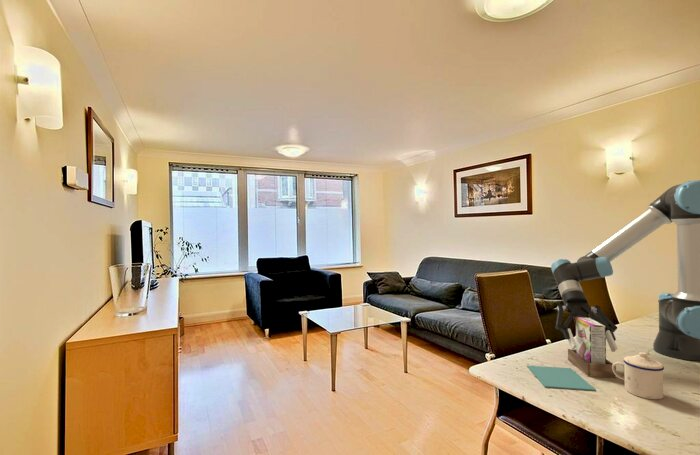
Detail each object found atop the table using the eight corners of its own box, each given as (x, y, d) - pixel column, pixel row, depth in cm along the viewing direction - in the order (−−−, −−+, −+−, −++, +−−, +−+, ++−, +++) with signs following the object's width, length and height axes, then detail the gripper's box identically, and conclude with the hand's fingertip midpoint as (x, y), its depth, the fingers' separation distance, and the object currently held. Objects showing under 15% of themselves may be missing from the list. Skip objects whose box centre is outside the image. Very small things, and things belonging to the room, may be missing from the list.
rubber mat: (570, 369, 117) (570, 368, 117) (595, 390, 102) (595, 389, 102) (527, 366, 120) (527, 365, 120) (544, 387, 104) (544, 386, 104)
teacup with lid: (667, 393, 100) (666, 353, 100) (661, 403, 94) (660, 361, 94) (616, 379, 109) (616, 343, 109) (607, 388, 103) (607, 349, 103)
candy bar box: (575, 361, 124) (574, 316, 124) (590, 362, 123) (590, 317, 123) (590, 374, 113) (589, 324, 113) (607, 375, 112) (606, 325, 112)
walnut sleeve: (592, 361, 125) (592, 350, 125) (615, 377, 111) (615, 365, 111) (567, 359, 126) (567, 349, 126) (587, 376, 112) (587, 363, 112)
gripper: (603, 301, 131) (629, 356, 116) (536, 299, 136) (552, 352, 120) (611, 290, 126) (639, 345, 111) (541, 288, 130) (558, 341, 115)
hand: (594, 349), depth 116 cm, fingers open, 12 cm apart
